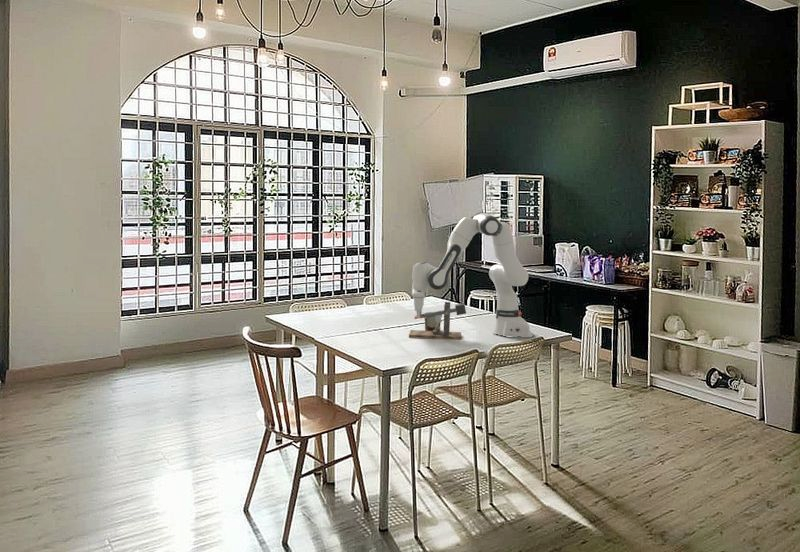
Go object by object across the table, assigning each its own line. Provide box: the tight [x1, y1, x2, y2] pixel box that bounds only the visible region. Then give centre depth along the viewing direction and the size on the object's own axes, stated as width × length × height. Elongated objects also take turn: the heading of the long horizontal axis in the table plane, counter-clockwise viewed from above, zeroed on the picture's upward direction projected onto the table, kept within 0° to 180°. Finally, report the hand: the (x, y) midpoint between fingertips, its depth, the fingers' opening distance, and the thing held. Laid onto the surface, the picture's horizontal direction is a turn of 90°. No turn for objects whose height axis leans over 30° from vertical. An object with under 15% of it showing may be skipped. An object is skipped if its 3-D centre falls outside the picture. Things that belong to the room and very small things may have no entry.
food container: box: [424, 311, 443, 331], centre depth 395 cm, size 12×6×10 cm, turn 130°
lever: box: [414, 302, 467, 323], centre depth 379 cm, size 28×5×7 cm, turn 83°
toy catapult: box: [408, 301, 462, 341], centre depth 380 cm, size 28×12×18 cm, turn 84°
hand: (419, 316), depth 381 cm, fingers open, 8 cm apart
